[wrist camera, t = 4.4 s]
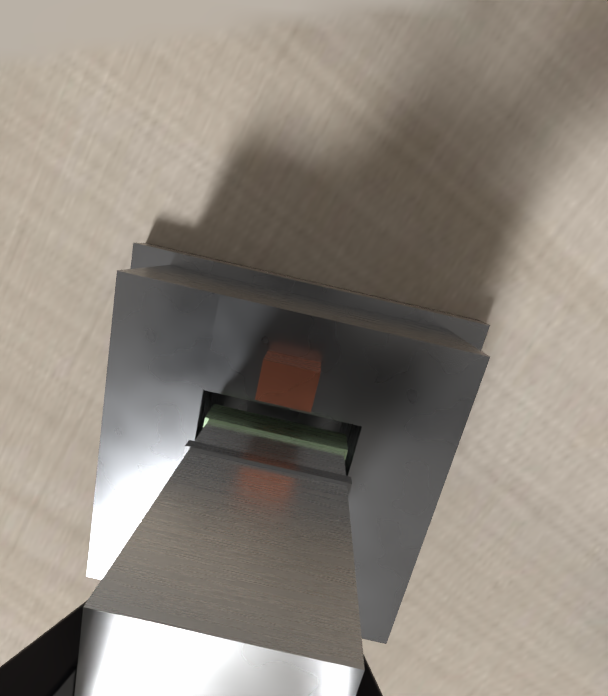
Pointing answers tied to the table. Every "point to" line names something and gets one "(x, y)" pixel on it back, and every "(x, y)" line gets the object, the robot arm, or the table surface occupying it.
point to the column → (234, 573)
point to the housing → (285, 398)
